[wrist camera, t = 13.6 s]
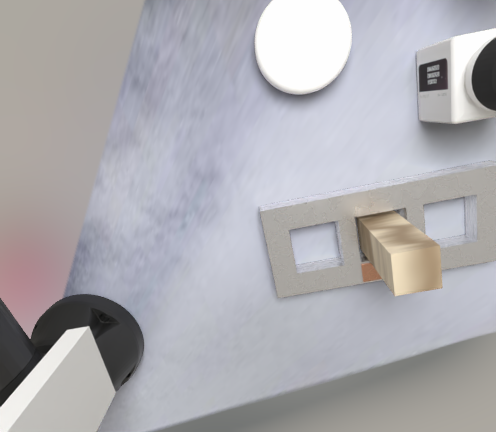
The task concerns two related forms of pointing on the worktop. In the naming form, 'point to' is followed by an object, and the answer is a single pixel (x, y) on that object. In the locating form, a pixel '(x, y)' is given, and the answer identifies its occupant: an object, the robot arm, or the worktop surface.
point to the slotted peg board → (376, 201)
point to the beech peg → (400, 253)
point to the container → (458, 79)
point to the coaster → (302, 44)
